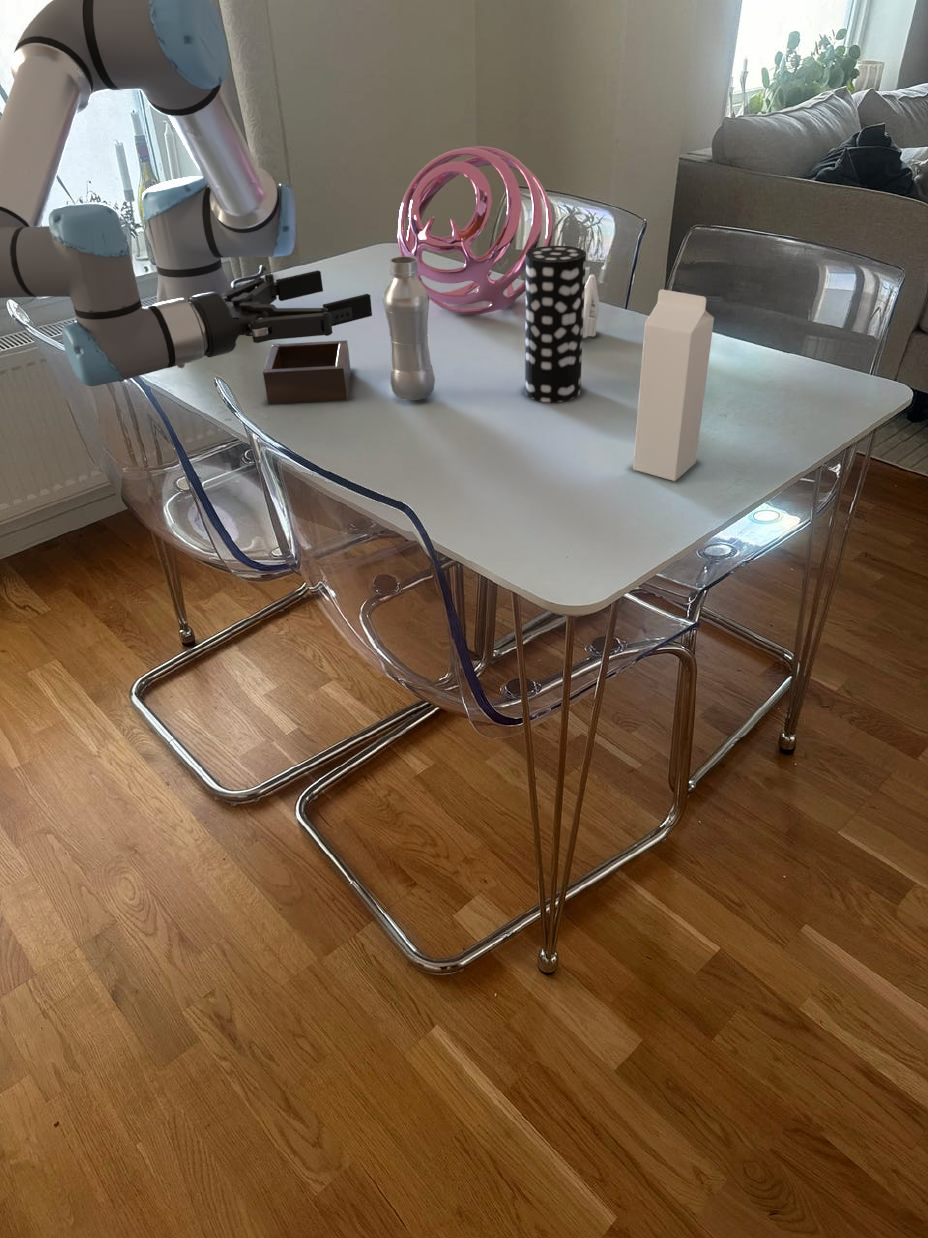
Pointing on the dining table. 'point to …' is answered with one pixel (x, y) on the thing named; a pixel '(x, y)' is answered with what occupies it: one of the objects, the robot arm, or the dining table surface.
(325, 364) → the box
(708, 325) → the milk
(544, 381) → the spotted tube
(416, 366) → the silver metal bottle
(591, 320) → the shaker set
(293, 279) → the robot arm
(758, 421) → the dining table surface
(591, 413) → the dining table surface
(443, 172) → the spiral basket
